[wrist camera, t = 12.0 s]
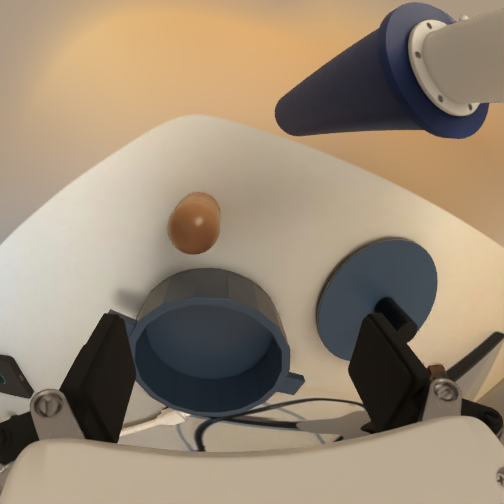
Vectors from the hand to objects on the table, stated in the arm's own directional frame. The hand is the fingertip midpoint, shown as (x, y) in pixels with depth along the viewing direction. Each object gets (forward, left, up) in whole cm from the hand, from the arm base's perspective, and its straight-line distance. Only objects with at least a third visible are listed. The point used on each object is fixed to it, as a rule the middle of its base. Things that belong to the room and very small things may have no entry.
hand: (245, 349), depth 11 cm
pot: (+12, +3, -18) cm, 22 cm away
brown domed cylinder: (0, -3, -18) cm, 18 cm away
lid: (+1, +20, -17) cm, 26 cm away
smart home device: (+41, -30, -18) cm, 54 cm away
